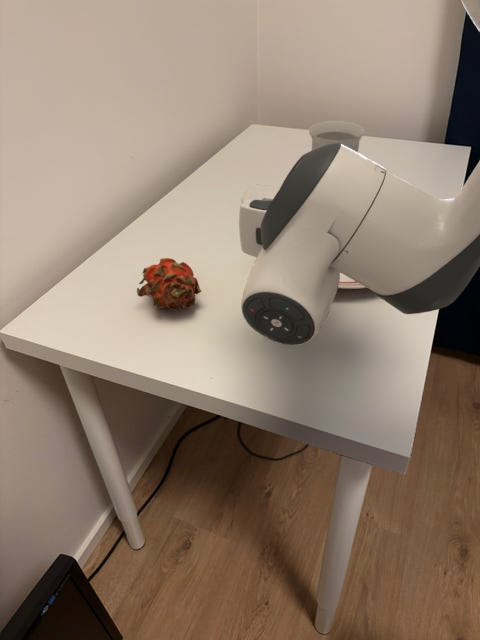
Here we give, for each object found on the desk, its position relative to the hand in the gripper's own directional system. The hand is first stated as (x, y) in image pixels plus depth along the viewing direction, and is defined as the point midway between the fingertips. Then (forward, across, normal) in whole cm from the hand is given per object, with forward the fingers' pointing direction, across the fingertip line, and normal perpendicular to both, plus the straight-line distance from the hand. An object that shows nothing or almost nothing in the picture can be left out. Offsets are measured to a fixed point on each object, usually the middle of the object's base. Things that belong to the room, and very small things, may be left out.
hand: (331, 188), depth 65 cm
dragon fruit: (-6, +24, +20) cm, 32 cm away
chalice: (-1, 0, +10) cm, 10 cm away
